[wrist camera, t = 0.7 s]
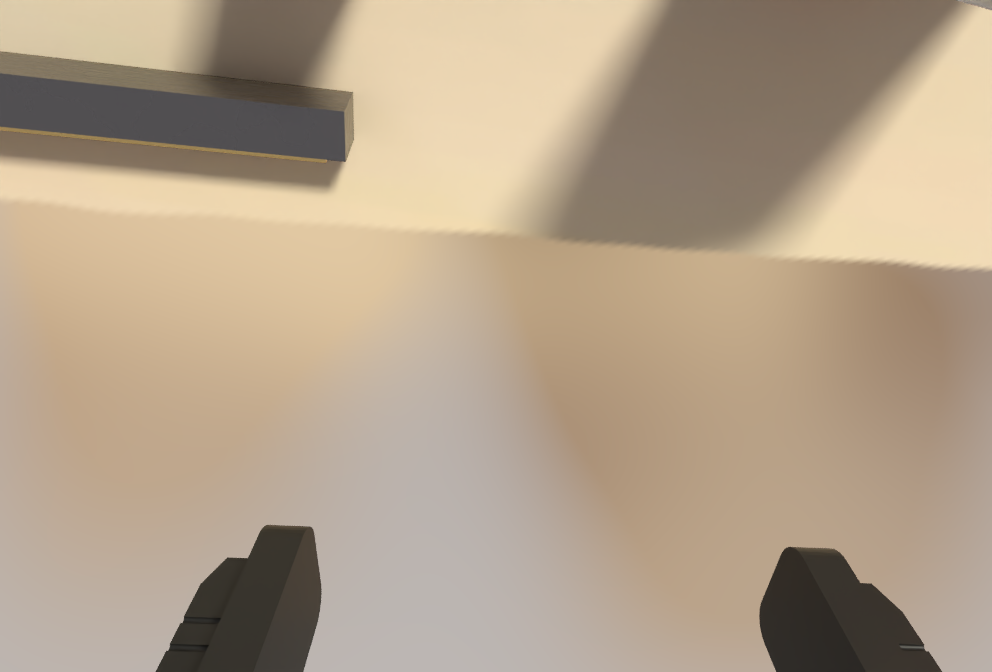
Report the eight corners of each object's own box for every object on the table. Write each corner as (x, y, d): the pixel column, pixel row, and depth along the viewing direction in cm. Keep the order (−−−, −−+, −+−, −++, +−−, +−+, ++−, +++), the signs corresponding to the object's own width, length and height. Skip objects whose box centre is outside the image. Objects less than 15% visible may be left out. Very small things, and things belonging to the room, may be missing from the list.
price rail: (-254, 81, 28) (-319, 101, 26) (-294, 17, 26) (-367, 32, 24) (353, 145, 31) (345, 167, 29) (353, 92, 30) (344, 111, 27)
